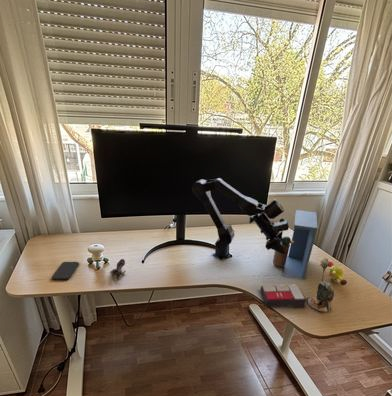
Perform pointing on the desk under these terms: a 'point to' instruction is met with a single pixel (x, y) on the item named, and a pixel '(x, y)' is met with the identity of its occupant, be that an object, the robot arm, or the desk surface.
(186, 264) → the desk surface
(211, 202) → the robot arm
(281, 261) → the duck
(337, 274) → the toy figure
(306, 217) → the cubby
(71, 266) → the phone
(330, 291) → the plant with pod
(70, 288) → the desk surface
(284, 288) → the red and grey box
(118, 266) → the dark squid figurine
